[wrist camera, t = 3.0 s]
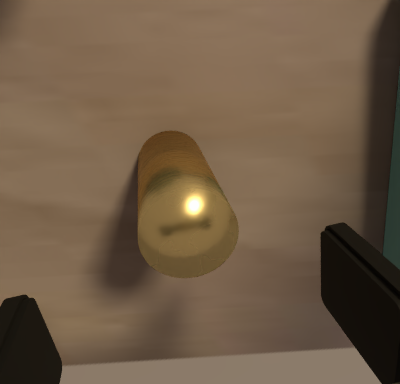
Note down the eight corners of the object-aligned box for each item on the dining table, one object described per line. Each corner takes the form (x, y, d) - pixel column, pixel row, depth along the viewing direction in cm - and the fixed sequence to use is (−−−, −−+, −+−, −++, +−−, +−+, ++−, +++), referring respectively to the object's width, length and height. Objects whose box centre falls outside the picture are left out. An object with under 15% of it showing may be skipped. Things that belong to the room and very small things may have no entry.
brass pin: (131, 137, 21) (127, 201, 13) (197, 125, 21) (233, 180, 13) (145, 196, 23) (149, 287, 15) (206, 184, 23) (243, 266, 15)
